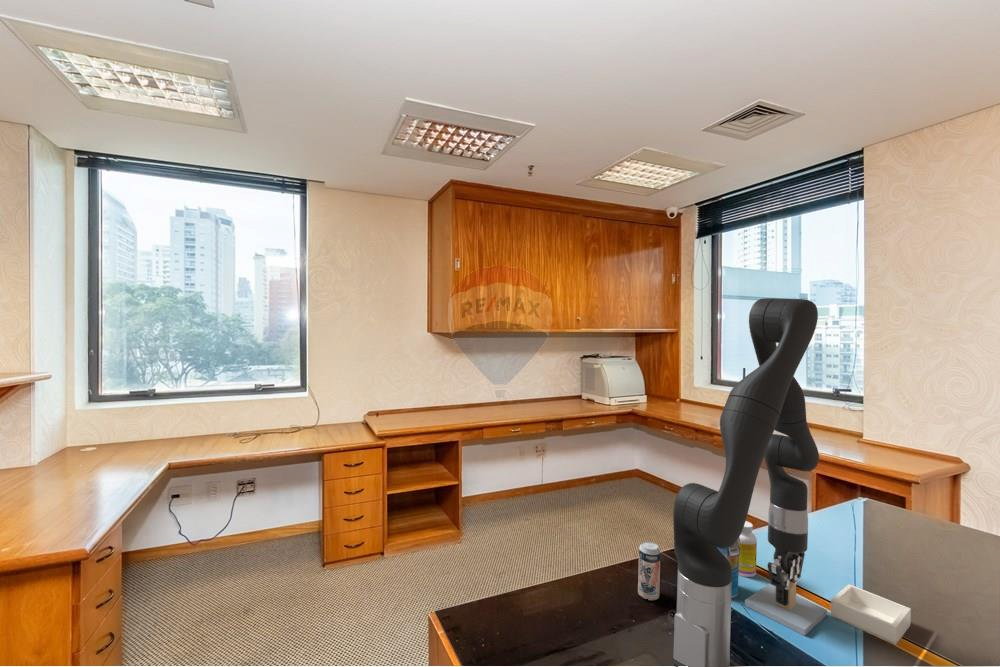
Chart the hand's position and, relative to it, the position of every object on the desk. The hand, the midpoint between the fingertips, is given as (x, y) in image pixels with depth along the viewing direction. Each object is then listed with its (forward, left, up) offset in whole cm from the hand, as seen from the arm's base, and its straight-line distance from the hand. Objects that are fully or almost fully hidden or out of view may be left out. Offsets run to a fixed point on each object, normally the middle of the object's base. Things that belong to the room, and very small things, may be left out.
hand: (785, 600), depth 99 cm
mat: (0, 0, -3) cm, 3 cm away
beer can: (-21, +21, -3) cm, 30 cm away
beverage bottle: (-4, +13, -3) cm, 14 cm away
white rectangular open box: (+12, -12, -3) cm, 17 cm away
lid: (0, 0, -2) cm, 2 cm away
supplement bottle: (+9, +14, -3) cm, 17 cm away
